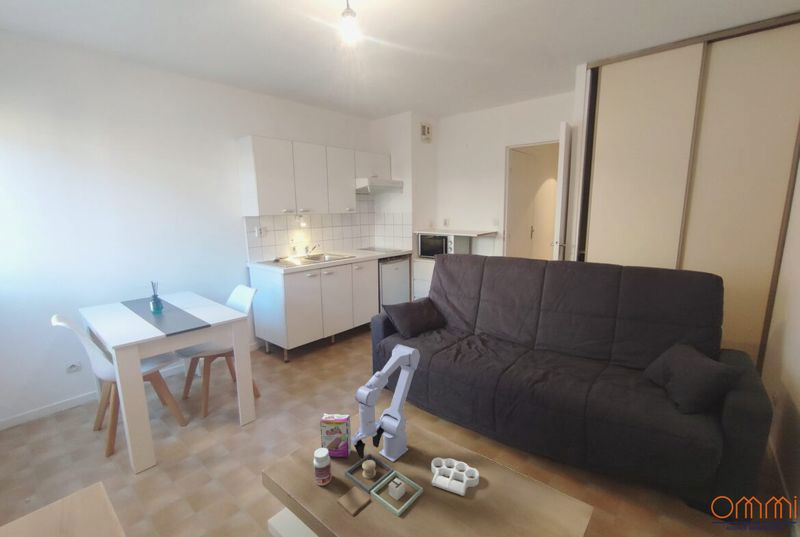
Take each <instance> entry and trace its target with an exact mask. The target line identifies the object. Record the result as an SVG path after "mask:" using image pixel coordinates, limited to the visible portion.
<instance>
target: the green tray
mask: <svg viewBox="0 0 800 537" xmlns="http://www.w3.org/2000/svg"><path fill="white" fill-rule="evenodd" d="M394 477H396V478H398V479H399V480H401V481H402V482H404V483H405V484H408V485H409V486H411V487H413V488H414V489H415V490H416V492H415V493H414V494H413V495H412V496H411V497H410V498H409V499H408V500H407V501H406V502H405V503H404V504H403V505H402V506H401V507H400V508H399V509H397V508H396V507H394V506H393V505H391V503H389V502H388V501H386V500H385V499H383V498H382V497H381V496H380V495H378V494H377V492H378V491H380V490H381V489H382V488H383V487H384V486H385V485H387V483H389V482H390V481H392V479H393V478H394ZM423 493H424V487H422V486H420V485H419V484H417V483H416V482H414V481H412V480H411V479H410V478H408V477H406V476H405V475H403V474H402V473H401V472H399V471H398V470H394V472H393V473H392V474H390V475H389V476H388V477H387V478H386V479H385V480H383V481H382V482H381V483H380V484H379V485H378V486H376V487H375V488H374V489H373V490H372V491H370V493H369V494H370V496H371V497H372V498H373V499H375V500H377V502H379V503H380V504H381V505H383V506H384V507H385V508H386V509H388V510H389V511H390V512H392V514H394V515H395V516H396V517H400V516H401V515H402V514H403V513H404V512H405V511H406V510H407V509H408V508H409V507H410V506H411V505H412V504H413V503H414V502H415V500H417V499H418V498H419V496H421V495H422V494H423Z"/></svg>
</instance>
